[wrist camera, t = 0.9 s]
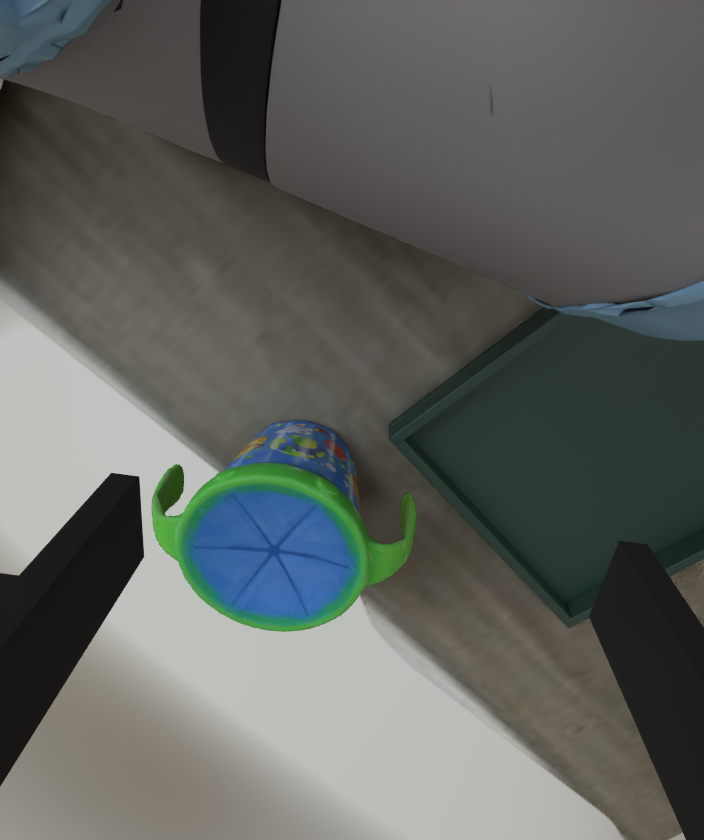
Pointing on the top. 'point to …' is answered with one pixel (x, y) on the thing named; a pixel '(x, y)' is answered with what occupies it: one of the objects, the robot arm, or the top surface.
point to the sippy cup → (279, 531)
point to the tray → (570, 451)
